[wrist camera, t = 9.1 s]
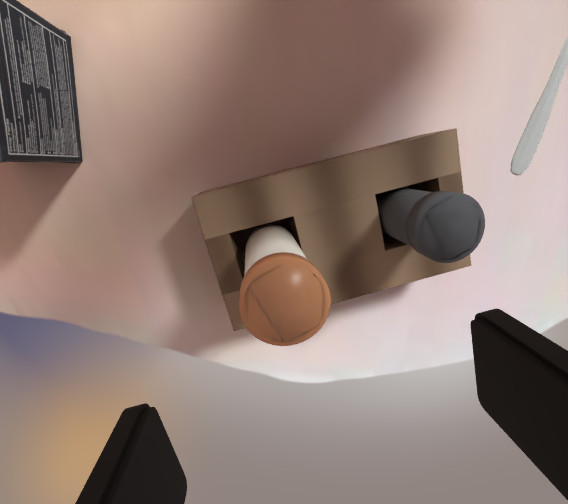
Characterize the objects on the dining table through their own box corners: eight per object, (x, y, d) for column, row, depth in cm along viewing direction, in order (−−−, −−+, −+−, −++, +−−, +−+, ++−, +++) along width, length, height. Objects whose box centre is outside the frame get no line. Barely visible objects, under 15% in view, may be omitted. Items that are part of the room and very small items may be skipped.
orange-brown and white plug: (291, 216, 29) (319, 249, 17) (304, 268, 30) (338, 332, 18) (236, 230, 29) (227, 274, 17) (251, 282, 30) (253, 356, 18)
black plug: (401, 178, 34) (481, 184, 22) (409, 224, 35) (487, 253, 23) (355, 190, 34) (411, 203, 22) (364, 236, 35) (421, 271, 23)
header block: (420, 135, 33) (456, 128, 27) (435, 249, 36) (471, 265, 31) (201, 192, 32) (191, 197, 27) (236, 304, 36) (234, 330, 30)
